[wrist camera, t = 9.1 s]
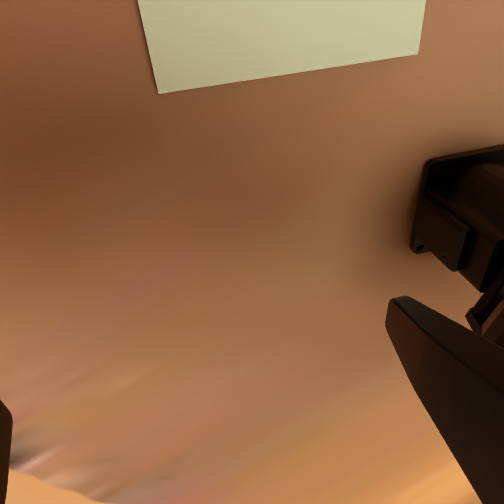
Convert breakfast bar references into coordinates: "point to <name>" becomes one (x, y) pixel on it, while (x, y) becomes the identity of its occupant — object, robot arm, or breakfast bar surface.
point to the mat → (272, 37)
